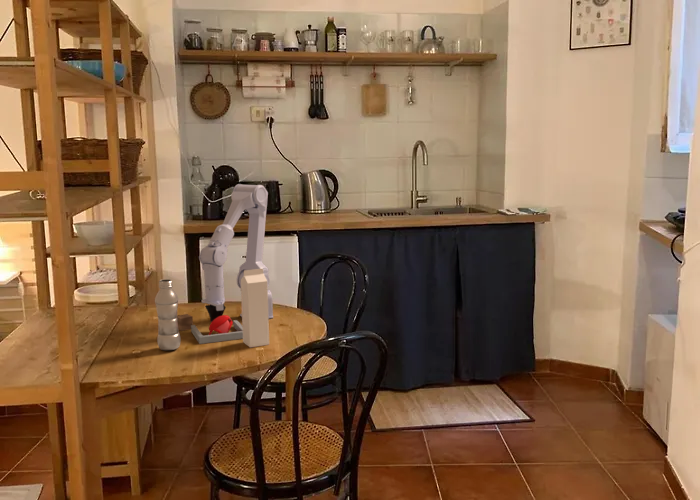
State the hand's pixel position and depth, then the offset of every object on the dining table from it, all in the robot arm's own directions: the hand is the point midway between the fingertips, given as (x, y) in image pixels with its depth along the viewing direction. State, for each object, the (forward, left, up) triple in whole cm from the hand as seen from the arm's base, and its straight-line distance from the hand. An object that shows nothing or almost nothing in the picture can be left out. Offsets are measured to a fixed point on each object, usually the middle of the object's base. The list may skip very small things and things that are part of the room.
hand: (216, 327), depth 213 cm
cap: (0, +5, -1) cm, 5 cm away
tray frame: (0, +4, -1) cm, 4 cm away
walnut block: (+8, -8, -1) cm, 12 cm away
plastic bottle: (+16, +12, -1) cm, 20 cm away
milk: (-8, +17, -1) cm, 19 cm away
